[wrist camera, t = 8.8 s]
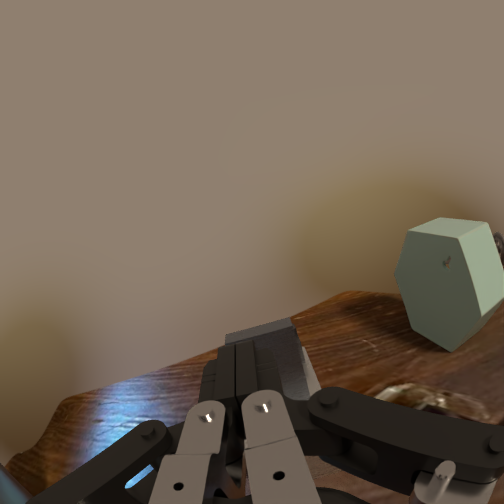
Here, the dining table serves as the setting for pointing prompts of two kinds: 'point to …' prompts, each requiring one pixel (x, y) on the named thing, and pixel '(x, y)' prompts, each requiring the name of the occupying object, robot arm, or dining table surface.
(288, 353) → the dark grey tapered block
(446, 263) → the spaceship
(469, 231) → the mint hexagonal prism
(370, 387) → the dining table surface
